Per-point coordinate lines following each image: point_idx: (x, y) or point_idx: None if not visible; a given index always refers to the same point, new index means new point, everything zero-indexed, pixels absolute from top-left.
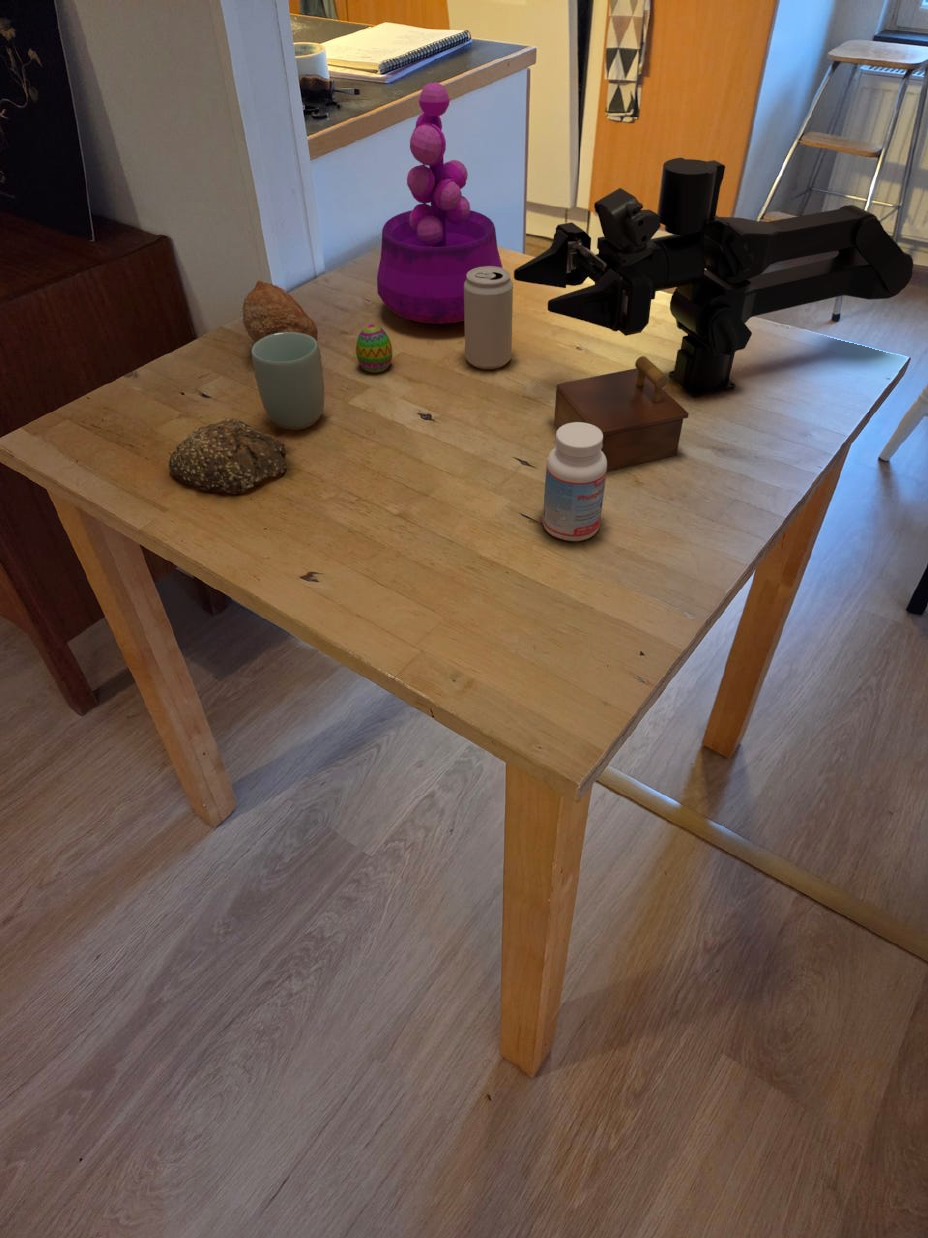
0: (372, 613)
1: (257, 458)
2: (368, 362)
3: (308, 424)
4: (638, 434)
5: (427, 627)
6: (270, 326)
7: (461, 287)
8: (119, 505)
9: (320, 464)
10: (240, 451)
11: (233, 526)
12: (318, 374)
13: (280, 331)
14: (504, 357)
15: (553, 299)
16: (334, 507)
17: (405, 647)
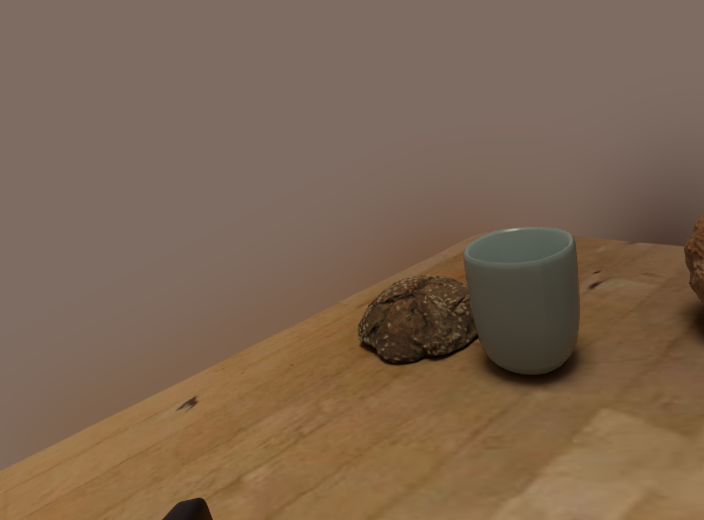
0: (89, 454)
1: (383, 324)
2: None
3: (494, 362)
4: None
5: (14, 506)
6: (687, 245)
7: None
8: (377, 286)
9: (405, 392)
10: (383, 305)
11: (309, 345)
12: (505, 304)
13: (694, 260)
14: None
15: (175, 517)
16: (298, 412)
17: (14, 483)
